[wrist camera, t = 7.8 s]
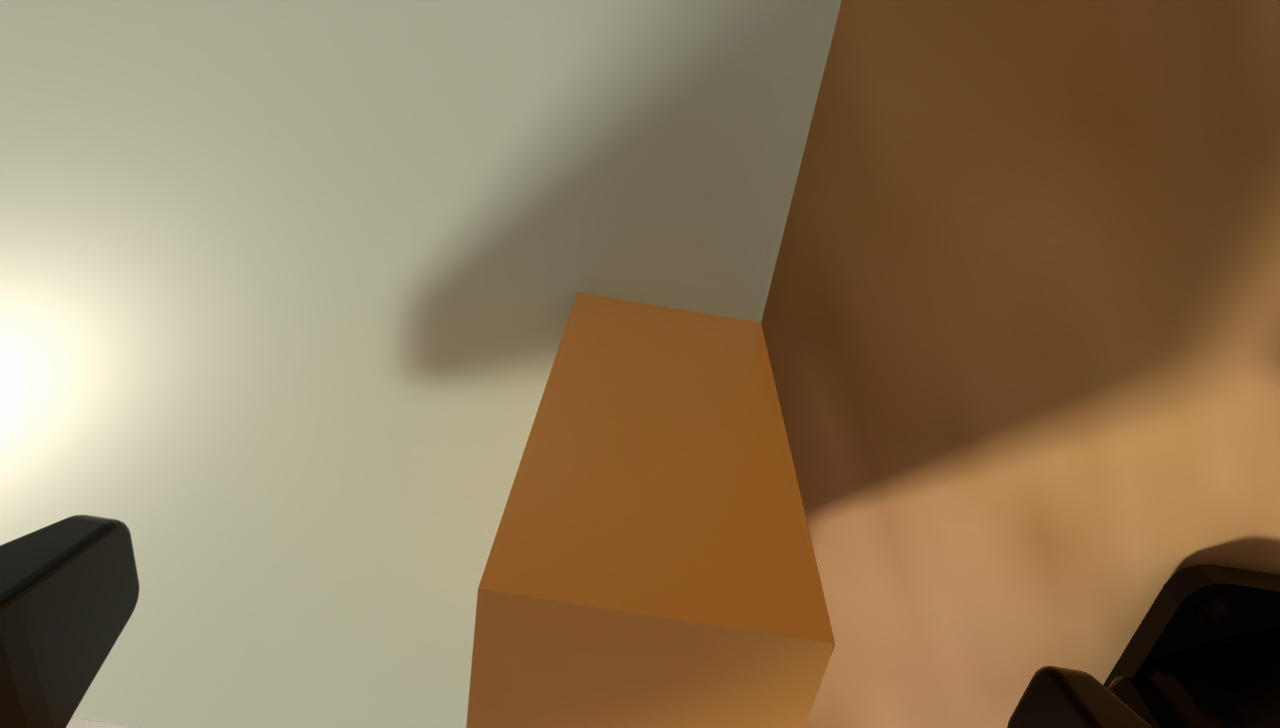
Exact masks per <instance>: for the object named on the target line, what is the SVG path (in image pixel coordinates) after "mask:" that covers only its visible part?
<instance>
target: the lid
mask: <svg viewBox="0 0 1280 728" xmlns="http://www.w3.org/2000/svg"><path fill="white" fill-rule="evenodd" d="M841 2H842V0H0V545H2V544H5V543H7V542H10V541H12V540H14V539H17V538H19V537H22V536H24V535H27V534H29V533H31V532H34V531H36V530H39V529H41V528H44V527H46V526H48V525H51V524H53V523H56V522H58V521H61V520H63V519H65V518H68V517H71V516H75V515H91V516H97V517H103V518H110V519H116V520H119V521H121V522H124V523H125V524H126V526H127V527H128V528H129V530H130V534H131V539H132V545H133V551H134V556H135V562H136V568H137V574H138V579H139V597H138V601H137V604H136V607H135V609H134V611H133V613H132V615H131V617H130V619H129V620H128V622H127V624H126V626H125V627H124V629H123V631H122V632H121V634H120V636H119V638H118V639H117V641H116V643H115V644H114V646H113V648H112V649H111V651H110V653H109V655H108V656H107V658H106V660H105V661H104V663H103V665H102V667H101V668H100V670H99V672H98V673H97V675H96V677H95V678H94V680H93V682H92V684H91V685H90V687H89V689H88V690H87V692H86V694H85V696H84V697H83V699H82V701H81V702H80V704H79V706H78V707H77V709H76V711H75V713H74V714H73V716H72V718H77V719H83V720H90V721H97V722H104V723H111V724H117V725H124V726H131V727H137V728H804V726H805V723H806V720H807V718H808V715H809V712H810V710H811V707H812V704H813V702H814V699H815V696H816V694H817V691H818V688H819V686H820V683H821V680H822V678H823V675H824V672H825V670H826V667H827V664H828V662H829V659H830V656H831V654H832V651H833V648H834V646H835V642H834V637H833V633H832V629H831V624H830V620H829V616H828V611H827V607H826V603H825V598H824V594H823V590H822V585H821V581H820V576H819V572H818V568H817V563H816V559H815V555H814V550H813V546H812V542H811V537H810V533H809V529H808V524H807V520H806V516H805V511H804V507H803V503H802V498H801V494H800V490H799V485H798V481H797V477H796V472H795V468H794V464H793V459H792V455H791V451H790V446H789V442H788V438H787V433H786V429H785V425H784V420H783V416H782V412H781V407H780V403H779V399H778V394H777V390H776V385H775V381H774V377H773V372H772V368H771V364H770V359H769V355H768V351H767V346H766V342H765V338H764V333H763V329H762V325H761V321H762V317H763V313H764V309H765V305H766V301H767V297H768V293H769V289H770V285H771V281H772V277H773V273H774V269H775V265H776V261H777V257H778V253H779V249H780V245H781V241H782V237H783V233H784V229H785V225H786V221H787V217H788V213H789V209H790V205H791V201H792V197H793V193H794V189H795V185H796V181H797V177H798V173H799V169H800V165H801V161H802V157H803V153H804V149H805V145H806V141H807V137H808V133H809V129H810V125H811V121H812V117H813V113H814V109H815V105H816V101H817V97H818V93H819V89H820V86H821V82H822V78H823V74H824V70H825V66H826V62H827V58H828V54H829V50H830V46H831V42H832V38H833V34H834V30H835V26H836V22H837V18H838V14H839V10H840V6H841Z"/></svg>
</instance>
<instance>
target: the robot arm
mask: <svg viewBox="0 0 1280 728" xmlns="http://www.w3.org/2000/svg"><path fill="white" fill-rule="evenodd" d="M138 597H139V579H138V574H137V568H136V562H135V556H134V551H133V545H132V539H131V534H130V530H129V528H128V527H127V526H126V524H125V523H124V522H121V521H119V520H116V519H110V518H103V517H97V516H91V515H75V516H71V517H68V518H65V519H63V520H61V521H58V522H56V523H53V524H51V525H48V526H46V527H44V528H41V529H39V530H36V531H34V532H31V533H29V534H27V535H24V536H22V537H19V538H17V539H14V540H12V541H10V542H7V543H5V544H2V545H0V728H66V726H67V724H68V723H69V721H70V719H71V718H72V716H73V714H74V713H75V711H76V709H77V707H78V706H79V704H80V702H81V701H82V699H83V697H84V696H85V694H86V692H87V690H88V689H89V687H90V685H91V684H92V682H93V680H94V678H95V677H96V675H97V673H98V672H99V670H100V668H101V667H102V665H103V663H104V661H105V660H106V658H107V656H108V655H109V653H110V651H111V649H112V648H113V646H114V644H115V643H116V641H117V639H118V638H119V636H120V634H121V632H122V631H123V629H124V627H125V626H126V624H127V622H128V620H129V619H130V617H131V615H132V613H133V611H134V609H135V607H136V604H137V601H138ZM1202 600H1203V601H1202ZM1007 728H1280V575H1275V574H1268V573H1262V572H1256V571H1250V570H1243V569H1237V568H1231V567H1225V566H1219V565H1196V566H1192V567H1188V568H1185V569H1183V570H1182V571H1180V572H1178V573H1176V574H1175V575H1173V576H1172V577H1171V578H1170V579H1169V580H1168V582H1167V583H1166V584H1165V585H1164V586H1163V588H1162V590H1161V591H1160V593H1159V595H1158V596H1157V598H1156V600H1155V601H1154V603H1153V605H1152V606H1151V608H1150V609H1149V611H1148V613H1147V614H1146V616H1145V618H1144V619H1143V621H1142V623H1141V624H1140V626H1139V627H1138V629H1137V631H1136V632H1135V634H1134V636H1133V637H1132V639H1131V641H1130V642H1129V644H1128V645H1127V647H1126V649H1125V650H1124V652H1123V654H1122V655H1121V657H1120V659H1119V660H1118V662H1117V664H1116V665H1115V667H1114V668H1113V670H1112V672H1111V673H1110V675H1109V677H1108V678H1107V680H1106V682H1105V683H1104V685H1102V684H1101V683H1100V682H1099V681H1098V680H1096V679H1095V678H1094V677H1093V676H1091V675H1090V674H1088V673H1085V672H1082V671H1079V670H1072V669H1066V668H1060V667H1053V666H1045V667H1042V668H1041V669H1039V670H1038V671H1036V673H1035V674H1034V676H1033V678H1032V679H1031V681H1030V683H1029V685H1028V687H1027V688H1026V690H1025V692H1024V694H1023V696H1022V698H1021V699H1020V701H1019V703H1018V705H1017V707H1016V709H1015V710H1014V712H1013V714H1012V716H1011V718H1010V720H1009V723H1008V727H1007Z"/></svg>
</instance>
